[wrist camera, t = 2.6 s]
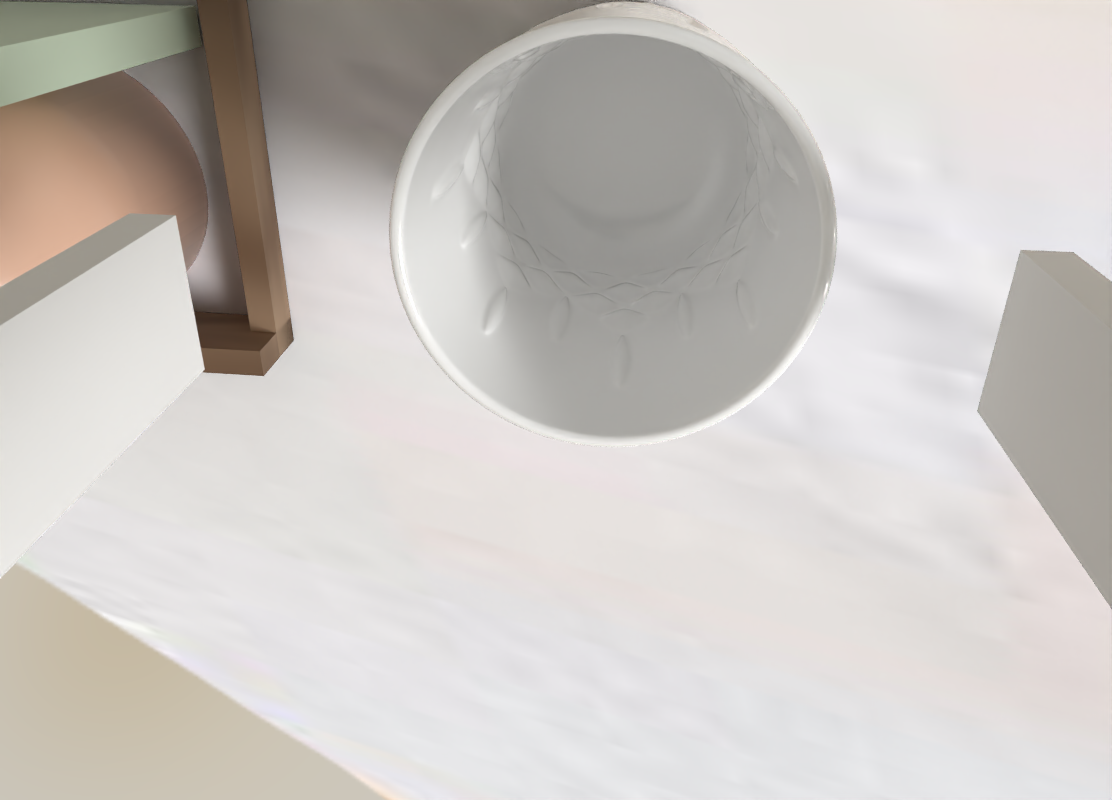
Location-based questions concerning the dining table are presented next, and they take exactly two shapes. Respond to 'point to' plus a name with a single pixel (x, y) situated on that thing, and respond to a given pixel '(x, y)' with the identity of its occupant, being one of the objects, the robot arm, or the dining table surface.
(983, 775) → the dining table surface
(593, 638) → the dining table surface
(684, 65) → the white cup
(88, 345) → the robot arm
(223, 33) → the brown wooden rack
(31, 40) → the pusher plate
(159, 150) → the terracotta jar
